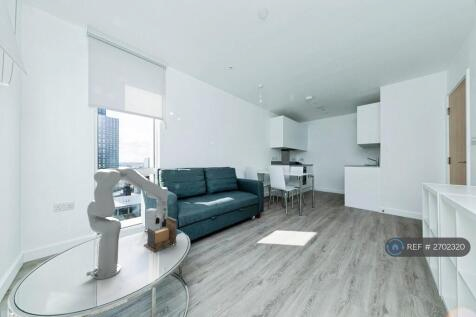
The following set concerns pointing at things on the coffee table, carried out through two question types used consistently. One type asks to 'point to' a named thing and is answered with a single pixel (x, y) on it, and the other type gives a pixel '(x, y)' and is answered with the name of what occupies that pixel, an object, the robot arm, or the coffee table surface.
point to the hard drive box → (152, 220)
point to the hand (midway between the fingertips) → (160, 225)
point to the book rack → (151, 245)
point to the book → (161, 235)
